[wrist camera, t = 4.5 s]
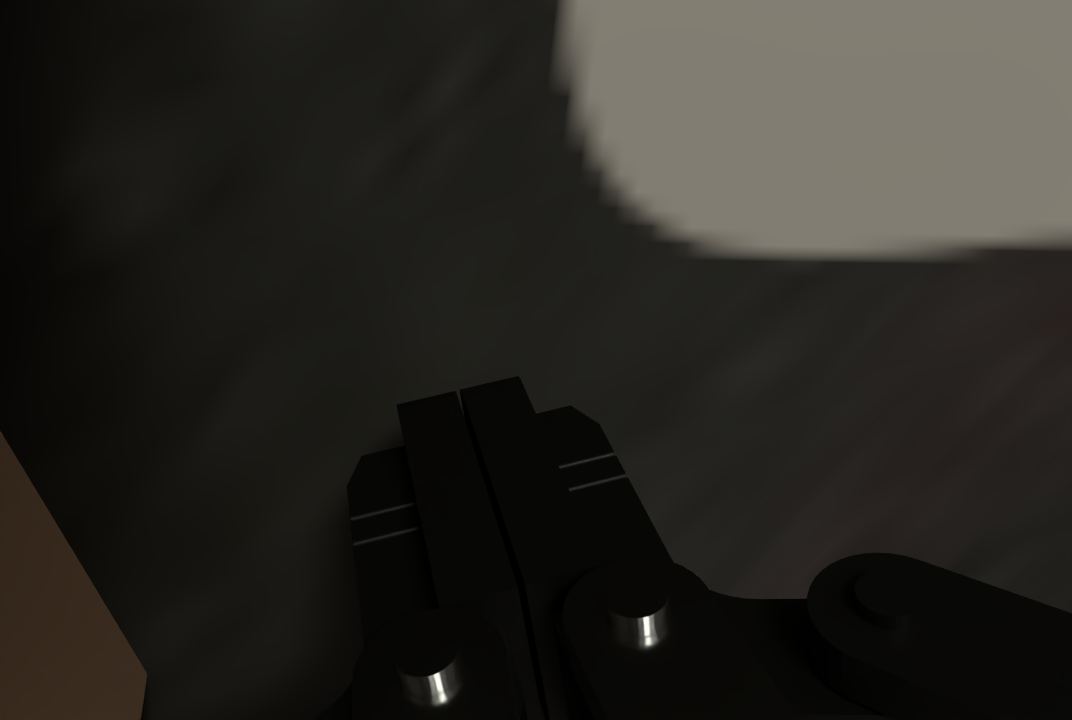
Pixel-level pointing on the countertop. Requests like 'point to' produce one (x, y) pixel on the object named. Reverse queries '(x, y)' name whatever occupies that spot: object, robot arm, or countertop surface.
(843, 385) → the countertop surface
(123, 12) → the countertop surface
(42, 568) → the brown rectangular block
